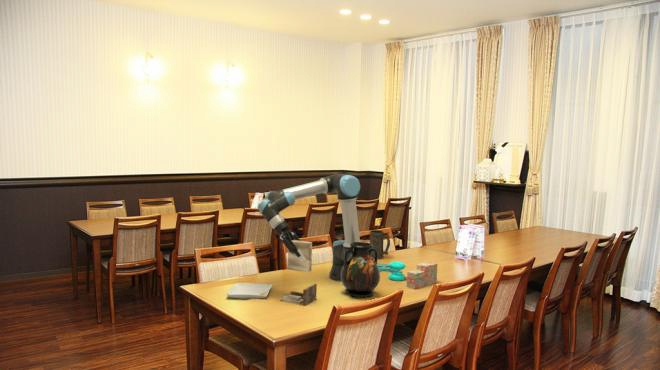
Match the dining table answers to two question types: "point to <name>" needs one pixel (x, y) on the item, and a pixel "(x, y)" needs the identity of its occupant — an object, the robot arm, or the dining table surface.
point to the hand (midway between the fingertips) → (306, 260)
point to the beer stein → (378, 243)
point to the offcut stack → (293, 299)
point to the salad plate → (249, 290)
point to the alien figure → (386, 268)
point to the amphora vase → (360, 271)
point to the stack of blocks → (422, 275)
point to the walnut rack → (306, 295)
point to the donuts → (397, 275)
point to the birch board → (295, 262)
